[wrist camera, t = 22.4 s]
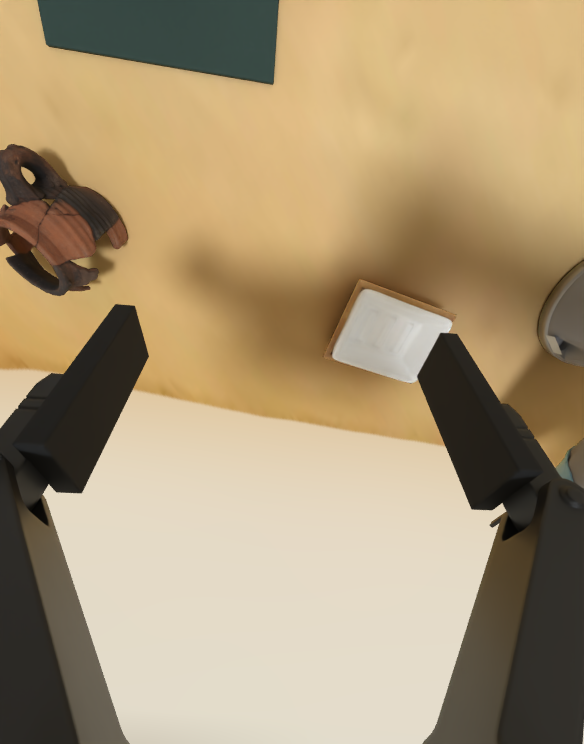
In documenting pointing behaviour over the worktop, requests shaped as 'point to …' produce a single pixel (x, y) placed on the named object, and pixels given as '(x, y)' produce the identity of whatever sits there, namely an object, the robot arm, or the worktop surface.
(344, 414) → the worktop surface
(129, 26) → the mat
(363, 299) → the soap dish
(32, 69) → the worktop surface
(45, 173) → the pottery mug
